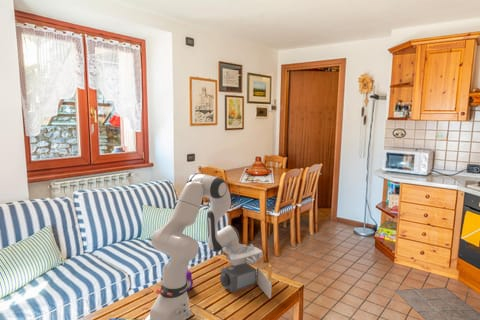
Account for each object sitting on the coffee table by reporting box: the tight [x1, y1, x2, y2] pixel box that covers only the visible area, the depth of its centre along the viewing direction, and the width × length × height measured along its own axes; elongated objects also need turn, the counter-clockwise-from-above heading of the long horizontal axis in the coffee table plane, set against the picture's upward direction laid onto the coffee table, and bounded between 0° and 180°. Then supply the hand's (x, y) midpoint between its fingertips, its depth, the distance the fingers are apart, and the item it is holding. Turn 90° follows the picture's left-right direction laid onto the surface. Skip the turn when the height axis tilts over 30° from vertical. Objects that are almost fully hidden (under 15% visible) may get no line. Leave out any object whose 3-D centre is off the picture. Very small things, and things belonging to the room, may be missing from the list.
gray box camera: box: [219, 262, 257, 293], centre depth 180 cm, size 11×18×10 cm, turn 125°
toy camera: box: [186, 269, 194, 292], centre depth 175 cm, size 11×14×10 cm
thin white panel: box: [255, 264, 273, 299], centre depth 174 cm, size 2×16×17 cm, turn 21°
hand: (254, 262), depth 174 cm, fingers closed
